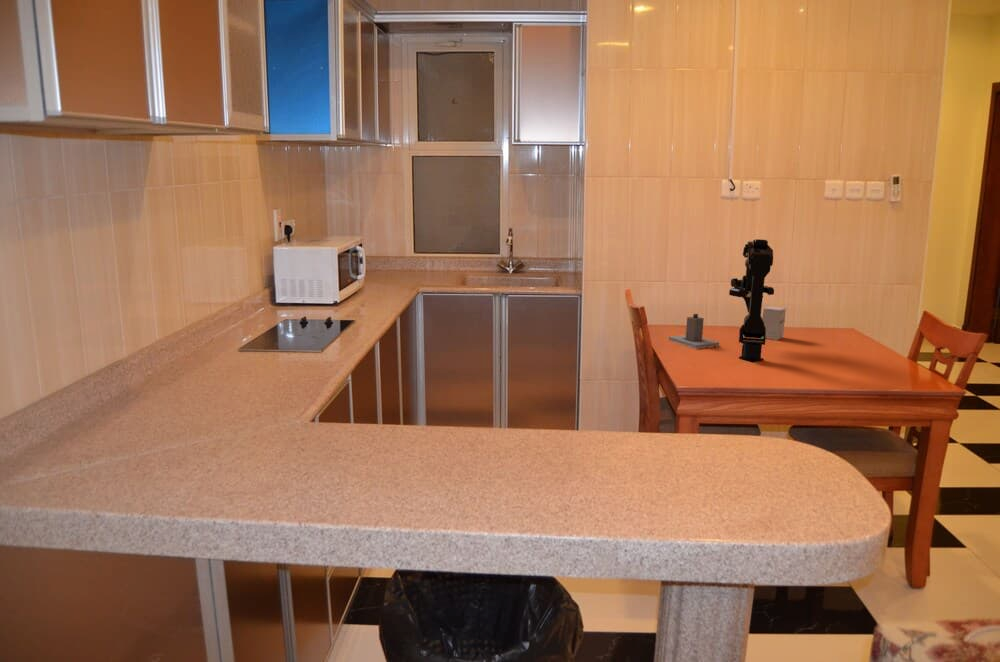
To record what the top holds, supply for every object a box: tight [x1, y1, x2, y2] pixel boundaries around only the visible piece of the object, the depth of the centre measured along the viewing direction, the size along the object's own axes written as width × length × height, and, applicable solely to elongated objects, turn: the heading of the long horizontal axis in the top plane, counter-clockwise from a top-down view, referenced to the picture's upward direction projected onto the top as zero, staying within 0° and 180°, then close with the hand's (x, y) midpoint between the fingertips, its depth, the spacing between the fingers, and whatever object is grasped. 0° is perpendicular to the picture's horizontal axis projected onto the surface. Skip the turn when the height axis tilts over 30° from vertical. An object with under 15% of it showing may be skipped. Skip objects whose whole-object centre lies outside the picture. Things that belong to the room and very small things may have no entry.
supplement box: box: [761, 305, 787, 341], centre depth 324 cm, size 7×7×13 cm
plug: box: [685, 313, 705, 342], centre depth 311 cm, size 4×4×12 cm
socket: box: [668, 334, 720, 350], centre depth 312 cm, size 16×12×2 cm
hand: (749, 312), depth 308 cm, fingers closed
